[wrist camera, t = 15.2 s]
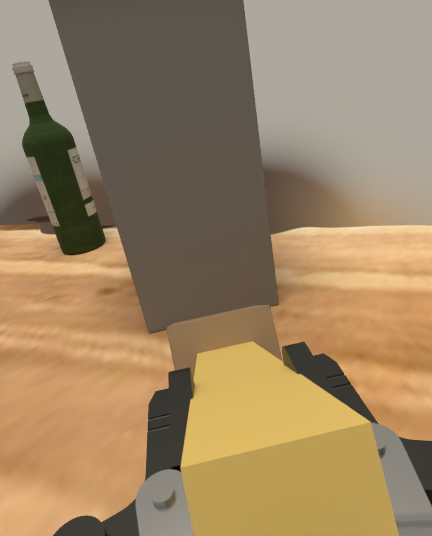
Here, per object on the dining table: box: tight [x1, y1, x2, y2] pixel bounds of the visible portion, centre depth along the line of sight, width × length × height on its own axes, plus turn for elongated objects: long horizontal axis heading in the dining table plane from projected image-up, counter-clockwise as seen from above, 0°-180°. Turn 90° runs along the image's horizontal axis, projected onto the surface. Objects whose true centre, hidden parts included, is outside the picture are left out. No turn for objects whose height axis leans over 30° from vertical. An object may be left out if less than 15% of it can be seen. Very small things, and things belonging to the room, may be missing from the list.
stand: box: [49, 0, 279, 333], centre depth 40 cm, size 17×15×32 cm
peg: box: [166, 305, 399, 536], centre depth 16 cm, size 21×6×5 cm
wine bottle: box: [13, 62, 105, 255], centre depth 62 cm, size 8×8×30 cm
